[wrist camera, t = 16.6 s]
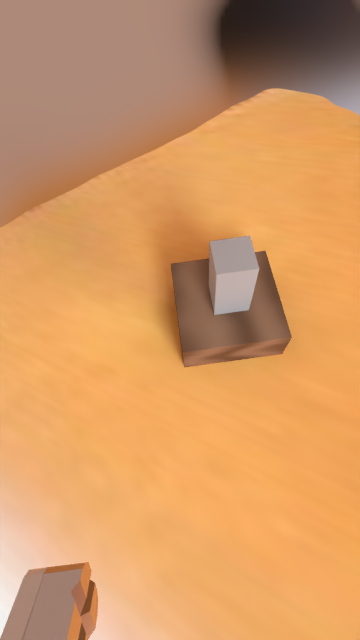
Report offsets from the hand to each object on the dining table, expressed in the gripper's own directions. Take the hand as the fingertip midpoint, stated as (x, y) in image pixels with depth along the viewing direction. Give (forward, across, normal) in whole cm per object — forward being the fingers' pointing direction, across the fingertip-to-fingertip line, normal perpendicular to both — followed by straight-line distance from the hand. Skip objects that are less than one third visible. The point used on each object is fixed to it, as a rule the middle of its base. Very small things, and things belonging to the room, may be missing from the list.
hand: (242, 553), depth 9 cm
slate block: (+30, -6, +1) cm, 31 cm away
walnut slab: (+34, -6, +5) cm, 35 cm away
